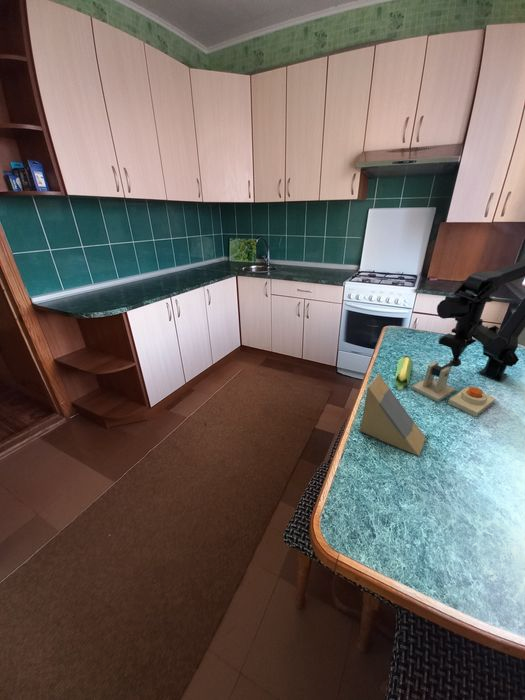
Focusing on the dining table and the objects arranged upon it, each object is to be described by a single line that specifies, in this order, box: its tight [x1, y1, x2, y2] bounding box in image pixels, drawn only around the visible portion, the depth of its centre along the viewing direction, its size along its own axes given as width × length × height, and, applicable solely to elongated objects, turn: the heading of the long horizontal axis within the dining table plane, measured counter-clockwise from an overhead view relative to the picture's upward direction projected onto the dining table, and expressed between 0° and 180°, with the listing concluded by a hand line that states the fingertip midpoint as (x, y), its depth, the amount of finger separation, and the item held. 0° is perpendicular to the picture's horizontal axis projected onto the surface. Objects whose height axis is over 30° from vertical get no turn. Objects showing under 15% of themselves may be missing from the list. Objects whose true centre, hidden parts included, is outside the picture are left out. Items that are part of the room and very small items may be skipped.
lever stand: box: [411, 361, 456, 403], centre depth 95 cm, size 10×9×9 cm
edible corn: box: [394, 355, 414, 391], centre depth 104 cm, size 5×20×5 cm, turn 151°
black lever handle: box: [432, 357, 462, 378], centre depth 97 cm, size 14×3×3 cm, turn 123°
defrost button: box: [467, 386, 484, 398], centre depth 89 cm, size 4×4×2 cm
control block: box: [447, 386, 497, 418], centre depth 90 cm, size 12×8×4 cm, turn 123°
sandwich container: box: [359, 373, 426, 457], centre depth 76 cm, size 9×15×15 cm, turn 52°
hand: (455, 358), depth 98 cm, fingers closed
